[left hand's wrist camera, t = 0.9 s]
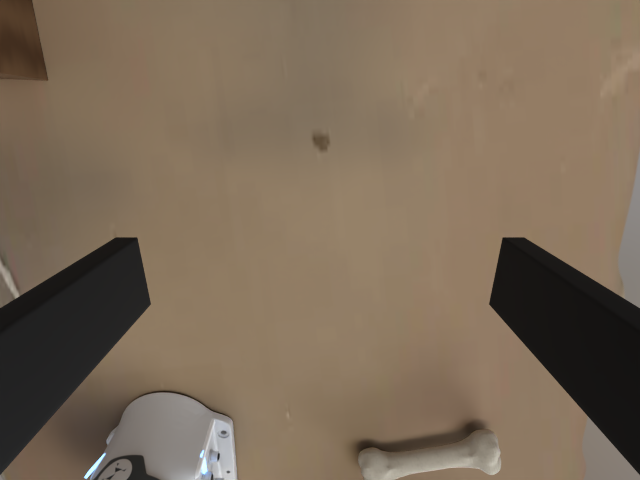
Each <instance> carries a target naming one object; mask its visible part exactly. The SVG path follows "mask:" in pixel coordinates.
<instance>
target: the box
mask: <svg viewBox="0 0 640 480" xmlns="http://www.w3.org/2000/svg"><path fill="white" fill-rule="evenodd" d="M0 79H23V80H45V81H47V80H48V78H47V73H46V68H45V63H44V59H43V54H42V49H41V44H40V39H39V34H38V29H37V25H36V20H35V15H34V10H33V5H32V0H0Z"/></svg>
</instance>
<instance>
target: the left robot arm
mask: <svg viewBox="0 0 640 480" xmlns="http://www.w3.org/2000/svg"><path fill="white" fill-rule="evenodd" d="M150 305H151V303H150V298H149V293H148V288H147V283H146V278H145V273H144V268H143V263H142V258H141V254H140V249H139V244H138V239H137V238H114V239H113V240H111V241H109V242H108V243H106V244H105V245H103V246H101V247H100V248H98V249H96V250H95V251H93V252H91V253H90V254H88V255H87V256H85V257H83V258H82V259H80V260H78V261H77V262H75V263H74V264H72V265H70V266H69V267H67V268H65V269H64V270H62V271H60V272H59V273H57V274H56V275H54V276H52V277H51V278H49V279H47V280H46V281H44V282H42V283H41V284H39V285H38V286H36V287H34V288H33V289H31V290H29V291H28V292H26V293H25V294H23V295H21V296H20V297H18V298H16V299H15V300H13V301H11V302H10V303H8V304H7V305H5V306H3V307H2V308H0V474H1V473H2V472H3V471H4V470H5V469H6V468H7V467H8V465H9V464H10V463H11V462H12V461H13V460H14V459H15V457H16V456H17V455H18V454H19V453H20V452H21V451H22V450H23V448H24V447H25V446H26V445H27V444H28V443H29V442H30V441H31V439H32V438H33V437H34V436H35V435H36V434H37V433H38V431H39V430H40V429H41V428H42V427H43V426H44V425H45V424H46V422H47V421H48V420H49V419H50V418H51V417H52V416H53V414H54V413H55V412H56V411H57V410H58V409H59V408H60V407H61V405H62V404H63V403H64V402H65V401H66V400H67V399H68V397H69V396H70V395H71V394H72V393H73V392H74V391H75V390H76V388H77V387H78V386H79V385H80V384H81V383H82V382H83V380H84V379H85V378H86V377H87V376H88V375H89V374H90V373H91V371H92V370H93V369H94V368H95V367H96V366H97V365H98V363H99V362H100V361H101V360H102V359H103V358H104V357H105V356H106V354H107V353H108V352H109V351H110V350H111V349H112V348H113V347H114V345H115V344H116V343H117V342H118V341H119V340H120V339H121V337H122V336H123V335H124V334H125V333H126V332H127V331H128V330H129V328H130V327H131V326H132V325H133V324H134V323H135V322H136V320H137V319H138V318H139V317H140V316H141V315H142V314H143V313H144V311H145V310H146V309H147V308H148V307H149V306H150ZM489 305H490V306H491V307H492V308H493V309H494V310H495V311H496V313H497V314H498V315H499V316H500V317H501V318H502V319H503V320H504V322H505V323H506V324H507V325H508V326H509V327H510V328H511V330H512V331H513V332H514V333H515V334H516V335H517V336H518V337H519V339H520V340H521V341H522V342H523V343H524V344H525V345H526V347H527V348H528V349H529V350H530V351H531V352H532V353H533V354H534V356H535V357H536V358H537V359H538V360H539V361H540V362H541V363H542V365H543V366H544V367H545V368H546V369H547V370H548V371H549V373H550V374H551V375H552V376H553V377H554V378H555V379H556V380H557V382H558V383H559V384H560V385H561V386H562V387H563V388H564V390H565V391H566V392H567V393H568V394H569V395H570V396H571V397H572V399H573V400H574V401H575V402H576V403H577V404H578V405H579V407H580V408H581V409H582V410H583V411H584V412H585V413H586V414H587V416H588V417H589V418H590V419H591V420H592V421H593V422H594V424H595V425H596V426H597V427H598V428H599V429H600V430H601V431H602V433H603V434H604V435H605V436H606V437H607V438H608V439H609V441H610V442H611V443H612V444H613V445H614V446H615V447H616V448H617V450H618V451H619V452H620V453H621V454H622V455H623V456H624V457H625V459H626V460H627V461H628V462H629V463H630V464H631V465H632V467H633V468H634V469H635V470H636V471H637V472H638V473H639V474H640V308H638V307H637V306H635V305H633V304H632V303H630V302H629V301H627V300H625V299H624V298H622V297H620V296H619V295H617V294H615V293H614V292H612V291H611V290H609V289H607V288H606V287H604V286H602V285H601V284H599V283H598V282H596V281H594V280H593V279H591V278H589V277H588V276H586V275H584V274H583V273H581V272H580V271H578V270H576V269H575V268H573V267H571V266H570V265H568V264H566V263H565V262H563V261H562V260H560V259H558V258H557V257H555V256H553V255H552V254H550V253H549V252H547V251H545V250H544V249H542V248H540V247H539V246H537V245H535V244H534V243H532V242H531V241H529V240H527V239H526V238H503V239H502V244H501V249H500V254H499V258H498V263H497V268H496V273H495V278H494V283H493V288H492V293H491V298H490V303H489Z"/></svg>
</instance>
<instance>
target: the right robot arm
mask: <svg viewBox="0 0 640 480" xmlns="http://www.w3.org/2000/svg"><path fill="white" fill-rule="evenodd" d="M106 442H107V444H108V446H107V448H106V449H105V451H104V453H103V455H102V457H101V458H100V459H99V460H98V461H97V462H96V463H95V464H94V466H93V467H92V468H91V469H90V470H89V471H88V473H87V474H86V476H85V477H84V478H87V477H88V476H89V475H90V474H91V473H92V472H93V471H94V472H93V474H92V476H91V478H90V480H237V467H236V454H235V442H234V429H233V421H232V419H231V418H229V417H227V416H225V415H222V414H219V413H216V412H213V411H211V410H209V409H208V408H206V407H205V406H204V405H202V404H201V403H199V402H198V401H196V400H194V399H192V398H189V397H187V396H184V395H180V394H176V393H167V392H160V393H152V394H147V395H144V396H142V397H139V398H137V399H136V400H134V401H133V402H131V403H130V404H129V405H128V406H127V408H126V409H125V411H124V412H123V415H122V417H121V420H120V423H119V425H118V426H117V427H116V428H114V429H113V430H112V431H111V433H110V434H109V436H108V438H107V441H106ZM94 469H95V470H94Z"/></svg>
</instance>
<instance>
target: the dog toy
mask: <svg viewBox="0 0 640 480" xmlns="http://www.w3.org/2000/svg"><path fill="white" fill-rule="evenodd" d="M499 455H500V449H499V447H498V439H497V437H496V435H495V434H494V433H493V432H492V431H491V430H488V429H481V430H476V431H474V432H472V433H471V434H470V435H469V436H468V437H466V438H465V439H463V440H461V441H458V442H455V443H451V444H446V445H441V446H435V447H429V448H422V449H416V450H410V451H403V452H386V451H382V450H379V449H377V448H374V447H370V448H366V449H364V450H362V451H360V453H359V457H358V462H359V465H360V467H361V474H362V475H363V478H364V480H395V479H397V478H400V477H402V476H406V475H409V474H414V473H420V472H426V471H433V470H439V469H446V468H454V467H468V468H477V469H481V470H482V471H484V472H485V473H487V474H489V475H493V474H496V473H497V472H499V470H500V467H501V459H500V456H499Z"/></svg>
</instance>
